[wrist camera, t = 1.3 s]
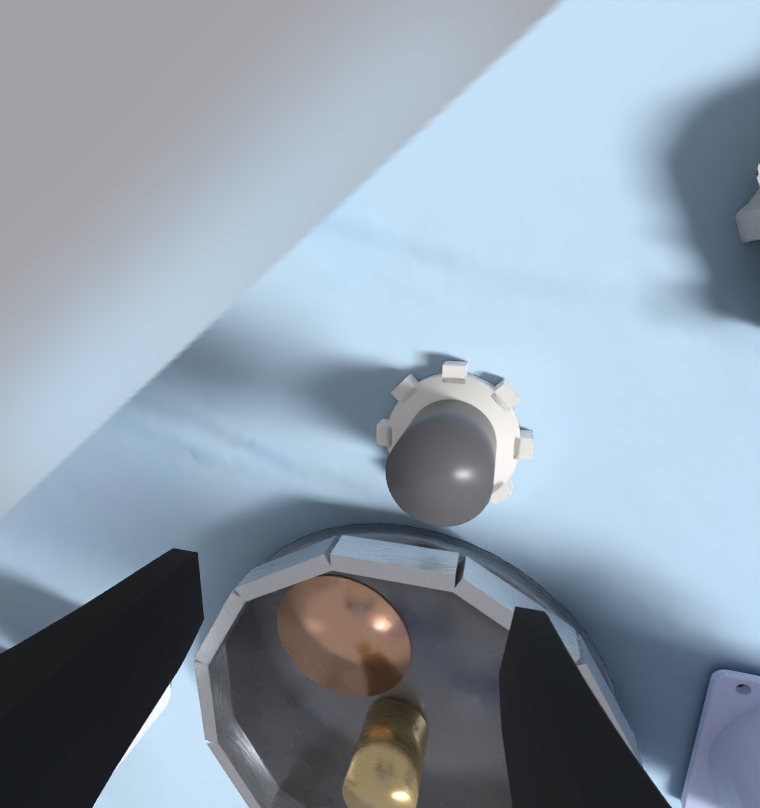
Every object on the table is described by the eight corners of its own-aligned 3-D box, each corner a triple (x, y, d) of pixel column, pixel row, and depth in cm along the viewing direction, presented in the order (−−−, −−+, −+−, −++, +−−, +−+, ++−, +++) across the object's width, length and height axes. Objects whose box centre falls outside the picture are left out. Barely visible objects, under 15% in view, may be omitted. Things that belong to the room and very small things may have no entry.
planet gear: (538, 365, 17) (547, 392, 13) (524, 510, 19) (529, 575, 15) (382, 357, 19) (346, 380, 15) (382, 492, 21) (350, 546, 17)
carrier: (654, 561, 18) (703, 658, 14) (591, 899, 24) (611, 1050, 19) (214, 498, 24) (142, 552, 19) (247, 785, 29) (197, 881, 24)
